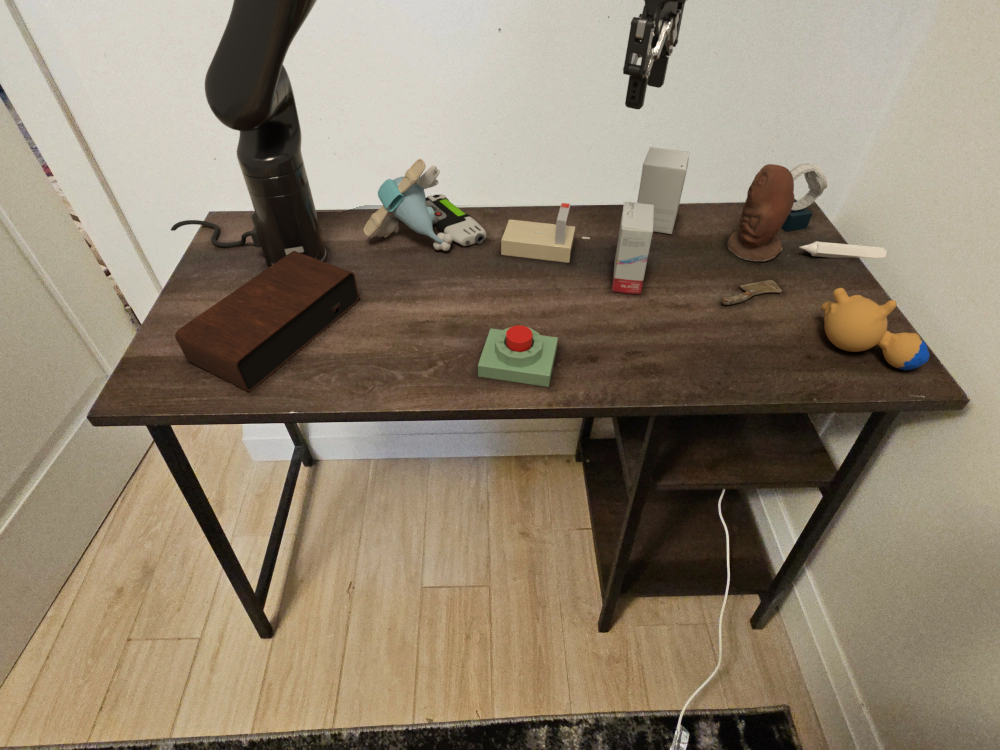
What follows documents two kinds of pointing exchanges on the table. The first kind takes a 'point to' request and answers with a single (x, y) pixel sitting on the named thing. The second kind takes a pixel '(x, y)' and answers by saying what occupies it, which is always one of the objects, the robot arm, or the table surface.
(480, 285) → the table surface
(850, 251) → the white pointed rod
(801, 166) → the watch
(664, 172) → the white packaging box
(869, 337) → the toy
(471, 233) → the toy gun
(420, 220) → the toy figure
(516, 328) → the stop button
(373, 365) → the table surface
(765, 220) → the figurine
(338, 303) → the alarm clock
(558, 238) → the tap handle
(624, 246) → the ink box
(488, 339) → the button box
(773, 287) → the meat cleaver
